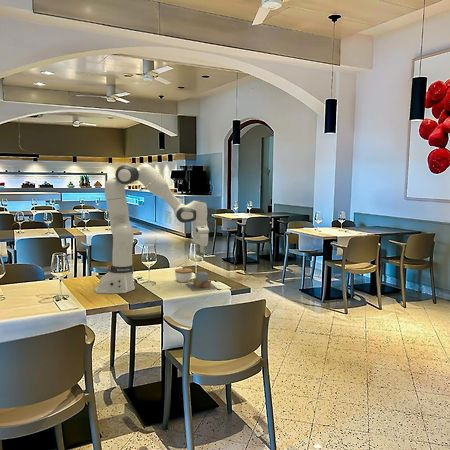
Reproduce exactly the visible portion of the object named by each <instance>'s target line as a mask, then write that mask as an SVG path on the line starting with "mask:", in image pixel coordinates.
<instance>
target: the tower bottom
mask: <svg viewBox="0 0 450 450" xmlns="http://www.w3.org/2000/svg"><path fill="white" fill-rule="evenodd" d="M210 283H211V280H209V279H208V281H199V282H198V281H197V280H196V279H195V278H193V283H192V284H193V286H195V287H196V288H197V289H201V288H210Z"/></svg>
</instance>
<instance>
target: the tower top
mask: <svg viewBox="0 0 450 450" xmlns="http://www.w3.org/2000/svg"><path fill="white" fill-rule="evenodd" d="M194 279H196V280H197V281H198V282H199V281H208V280H209V274H208V272H206V271H200V272H198V271H197V272H195V278H194Z"/></svg>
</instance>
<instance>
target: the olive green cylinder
mask: <svg viewBox="0 0 450 450" xmlns="http://www.w3.org/2000/svg"><path fill="white" fill-rule="evenodd" d="M204 255H205V248H204V249H203V253H201V252H200V245H197V246H196V245H195V256H204Z"/></svg>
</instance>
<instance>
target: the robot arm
mask: <svg viewBox="0 0 450 450" xmlns="http://www.w3.org/2000/svg"><path fill="white" fill-rule="evenodd" d="M114 176H115V177H113V178H109V179H107V180H106V181H105V182H104V197H105V202H106V207H107V212H108V213H107V214H108V219H109V224H110V230H111V234H112V238H113V239H112V255H111V256H112V262H111V263H112V264H108V265H107V268H108V272H107V273H106V274H104V275H102V277H100V279H99V282H98V285H97V286H95V288H94V292H95V293H97V294H126V293H128V292H131V291H133V290H135V289H136V286H135V282H134V277H133V274H134V264H133V247H134V228H133V227H132V226H131V222H130V215H129V207H128V206H129V205H128V201H127V197H126V192H125V189H126V186H127V185H131V184H132V183H135V182H136V181H137V182H140V183H141V184H142V185H143V186H144V187H145V188H146V189H147V190H148V191H149V192H150V193H152V195H154V196H156V197H158V198H159V199H162V200H164V201H165V202H166V203H167V205H168V206H169V207H170V208H171V209H172V210H173V211H174V214H175V218H176V219H177V221H178V222H180V223H183V224H186V223H187V224H188V223H190V222H191V224H192V225H191V228H192V229H191V230H192V241H193V243H195V247H196V246H197V245H200V252H201V253H203V249H204V250H205V247H207V246H208V244H209V233H210V229H209V227H208V220H207V219H208V207H207V206H208V205H207V203H206V202H205V201H203V200H199V199H194V200H192V201H191V202H189V203H187V204H186V203H183V202H182V201H180V200H179V199H178V197H177V196H176V195H175V194H174V193H173V192H172V190H171V189H170V187H169V185H168V182H167V181H166V180H165V178H164V177H163V176H162V174H161V173H160V172H159V171H157V170H156V168H154V167H153V166H152V165H150V164H149V163H146V162H145V163H144V162H143V163H140V165H138V166H136V167H135V166H134V165H133V164H130V163H124V164H122V165H120V166H118V167H117V169H116V170H115V175H114Z"/></svg>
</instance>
